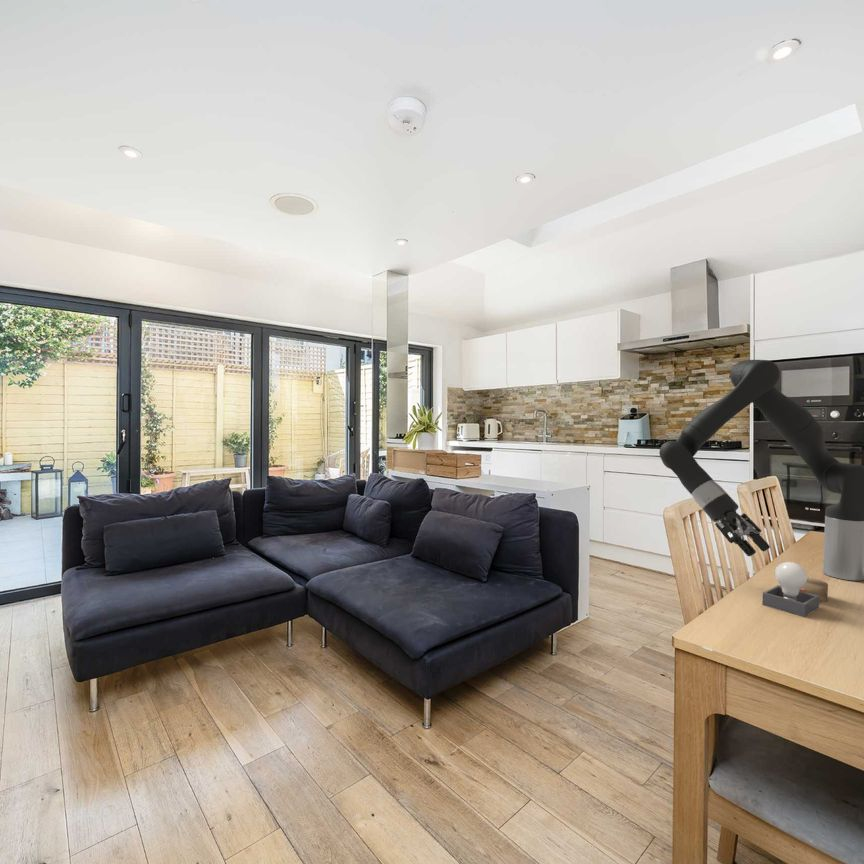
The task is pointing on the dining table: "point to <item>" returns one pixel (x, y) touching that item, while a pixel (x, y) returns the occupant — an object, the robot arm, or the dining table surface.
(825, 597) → the oak stand
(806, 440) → the robot arm
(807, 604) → the dark grey open tray
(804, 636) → the dining table surface
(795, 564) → the lightbulb
